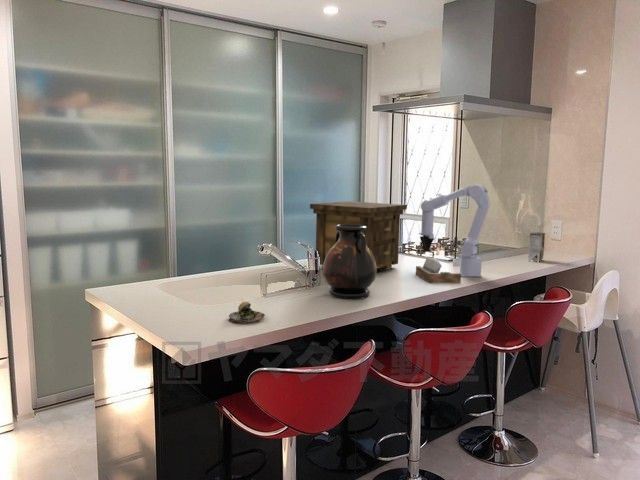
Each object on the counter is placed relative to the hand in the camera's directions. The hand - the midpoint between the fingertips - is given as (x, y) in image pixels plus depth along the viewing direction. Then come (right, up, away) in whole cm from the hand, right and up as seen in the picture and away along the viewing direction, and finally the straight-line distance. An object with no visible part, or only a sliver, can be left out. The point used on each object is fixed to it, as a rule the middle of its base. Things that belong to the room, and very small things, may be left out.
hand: (426, 250), depth 266 cm
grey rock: (+1, -11, -9) cm, 14 cm away
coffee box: (+70, -7, +37) cm, 79 cm away
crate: (-35, -9, +3) cm, 36 cm away
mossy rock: (-78, -21, -92) cm, 122 cm away
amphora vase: (-42, -17, -55) cm, 71 cm away
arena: (+2, -12, -17) cm, 21 cm away
